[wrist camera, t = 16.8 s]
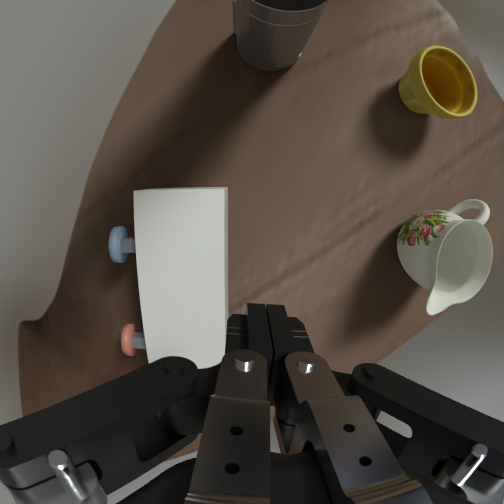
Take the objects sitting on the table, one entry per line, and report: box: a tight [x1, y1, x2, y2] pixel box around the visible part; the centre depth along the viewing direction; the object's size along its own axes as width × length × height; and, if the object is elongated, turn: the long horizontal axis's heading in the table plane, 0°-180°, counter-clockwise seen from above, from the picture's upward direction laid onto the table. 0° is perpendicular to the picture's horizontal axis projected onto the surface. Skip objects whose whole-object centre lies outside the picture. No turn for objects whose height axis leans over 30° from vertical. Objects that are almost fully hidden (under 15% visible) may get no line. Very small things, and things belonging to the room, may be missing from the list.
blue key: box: [109, 226, 136, 263], centre depth 36 cm, size 8×4×4 cm, turn 89°
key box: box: [133, 187, 228, 369], centre depth 39 cm, size 10×26×9 cm, turn 179°
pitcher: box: [397, 199, 493, 315], centre depth 37 cm, size 11×18×14 cm, turn 137°
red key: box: [121, 324, 146, 356], centre depth 39 cm, size 8×4×4 cm, turn 89°
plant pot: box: [398, 46, 477, 119], centre depth 34 cm, size 10×10×10 cm
